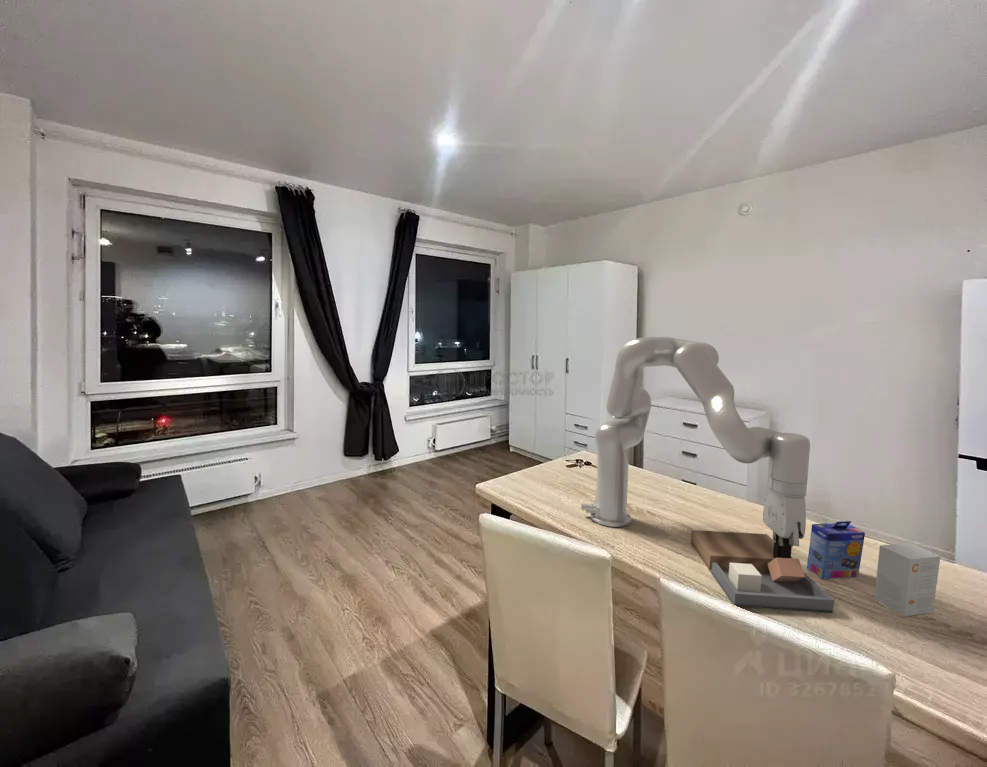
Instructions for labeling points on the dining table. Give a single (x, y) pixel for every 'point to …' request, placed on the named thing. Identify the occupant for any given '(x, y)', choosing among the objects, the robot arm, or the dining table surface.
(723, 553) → the bench plate
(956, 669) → the dining table surface
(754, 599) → the tray
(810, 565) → the ink cartridge box
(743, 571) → the cream block
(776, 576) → the terracotta block
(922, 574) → the small box
